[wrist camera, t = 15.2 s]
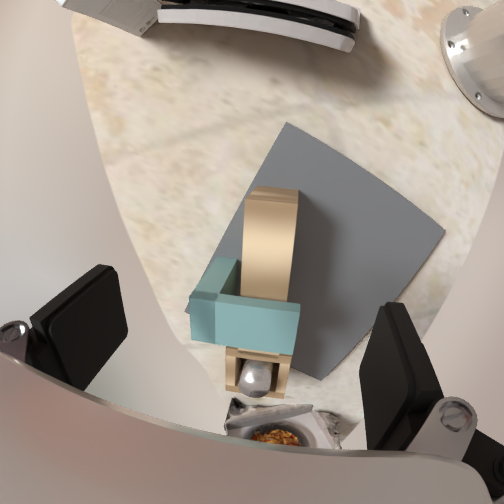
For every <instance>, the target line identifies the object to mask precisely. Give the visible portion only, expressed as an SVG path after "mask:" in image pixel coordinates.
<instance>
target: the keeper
mask: <svg viewBox="0 0 504 504" xmlns="http://www.w3.org/2000/svg"><path fill="white" fill-rule="evenodd" d="M236 279H237V259H234V258H225V257H216V259H215V260H214V262H213V263H212V264H211V266H210V267H209V269H208V270H207V272H206V273H205V275H204V276H203V277H202V279H201V280H200V282H199V283H198V285H197V286H196V288H195V289H194V291H193V292H192V294H191V295H190V297H189V310H190V326H191V340H196V341H201V342H206V343H212V344H218V345H224V346H230V347H236V348H243V349H249V350H256V351H264V352H271V353H279V354H288V355H293V350H294V345H295V339H296V334H297V328H298V322H299V316H300V304H297V303H289V302H280V301H272V300H264V299H256V298H248V297H240V296H236Z"/></svg>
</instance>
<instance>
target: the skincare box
mask: <svg viewBox="0 0 504 504" xmlns="http://www.w3.org/2000/svg"><path fill="white" fill-rule="evenodd" d="M55 1H56V2H57V3H58V4H60V5H61V6H62V7H64V8H67V9H70V10H72V11H75V12H78V13H81V14H84V15H87V16H90V17H93V18H95V19H98V20H100V21H103V22H105V23H108V24H110V25H113V26H115V27H117V28H120V29H122V30H124V31H127V32H129V33H131V34H134V35H136V36H138V37H140V36H141V35H142V34H143V33H144V32H146V31H147V30H148V29H149V28H150V27H151V26H152V25H153V24H154V23H155V22H156V21H157V20H158V13H157V10H161V4H160V3H159V2H158V1H157V0H55Z"/></svg>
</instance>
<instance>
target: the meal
mask: <svg viewBox="0 0 504 504" xmlns="http://www.w3.org/2000/svg"><path fill="white" fill-rule="evenodd" d="M236 405H237V408H236V406H235V405H234V401H233V398H232V400H231V403H230V407H229V410H228V414H227V418H226V421H225V424H224V428H225V431H226V433H227V435H226V436H230V437H235V438H241V439H247V440H253V441H259V442H266V443H273V444H281V445H290V446H300V447H312V448H325V449H334V445H335V442H336V444H337V446H338V447H339V449H342V448H341V446H340V442H339V437H338V434H340V433H338V428H337V423H338V417H337V416H335V415H333V414H331V413H324V412H316V411H315V410H314V408H312V406H313V405H303V404H296V405H277V406H271V407H258V406H259V405H257V406H243V405H241V404H239V403H237V402H236ZM311 409H312V410H311ZM328 429H329V430H331V431H333V432H335V433H334V434H337V435H334V436H332V435H331V434H330V432H329V431H328Z"/></svg>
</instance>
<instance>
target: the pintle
mask: <svg viewBox="0 0 504 504" xmlns="http://www.w3.org/2000/svg"><path fill="white" fill-rule="evenodd" d="M273 365H274V362H267V361H259V360H252V359H245V363H244V366H243V370H242V374H241V377H240V381H239V385H238V387H239V390H240V391H241V392H242V393H243V394H245V395H246V396H249V397H253V398H259V397H263V396H265V395H267V394H268V392H269V390H270V384H271V377H272V371H273Z"/></svg>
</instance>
